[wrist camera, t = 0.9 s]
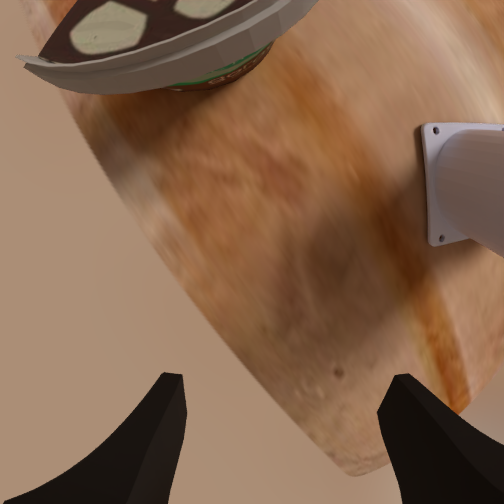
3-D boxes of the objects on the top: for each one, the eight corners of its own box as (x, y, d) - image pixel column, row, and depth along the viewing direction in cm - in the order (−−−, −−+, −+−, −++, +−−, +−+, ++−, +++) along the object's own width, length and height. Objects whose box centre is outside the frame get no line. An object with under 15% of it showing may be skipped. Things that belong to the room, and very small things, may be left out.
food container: (208, 157, 16) (150, 179, 6) (126, 100, 14) (6, 73, 5) (341, 9, 12) (417, -81, 3) (259, -42, 11) (266, -150, 2)
